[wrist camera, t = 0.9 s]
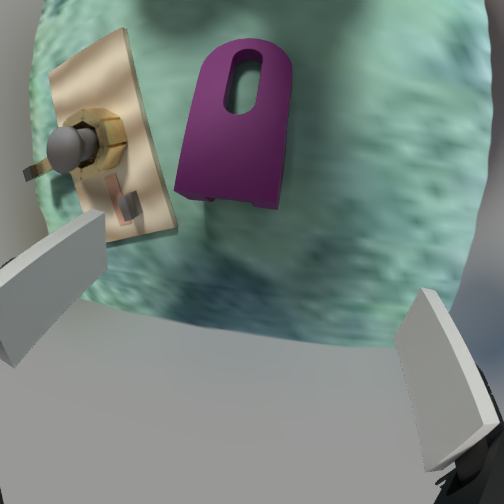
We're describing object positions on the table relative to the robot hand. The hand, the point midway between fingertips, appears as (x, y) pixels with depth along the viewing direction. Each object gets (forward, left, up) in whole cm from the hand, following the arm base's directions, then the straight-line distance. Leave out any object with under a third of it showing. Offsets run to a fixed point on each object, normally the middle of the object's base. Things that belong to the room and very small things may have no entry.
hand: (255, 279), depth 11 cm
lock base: (-10, -22, -25) cm, 35 cm away
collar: (-10, -26, -24) cm, 36 cm away
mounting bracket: (-7, -3, -25) cm, 26 cm away
